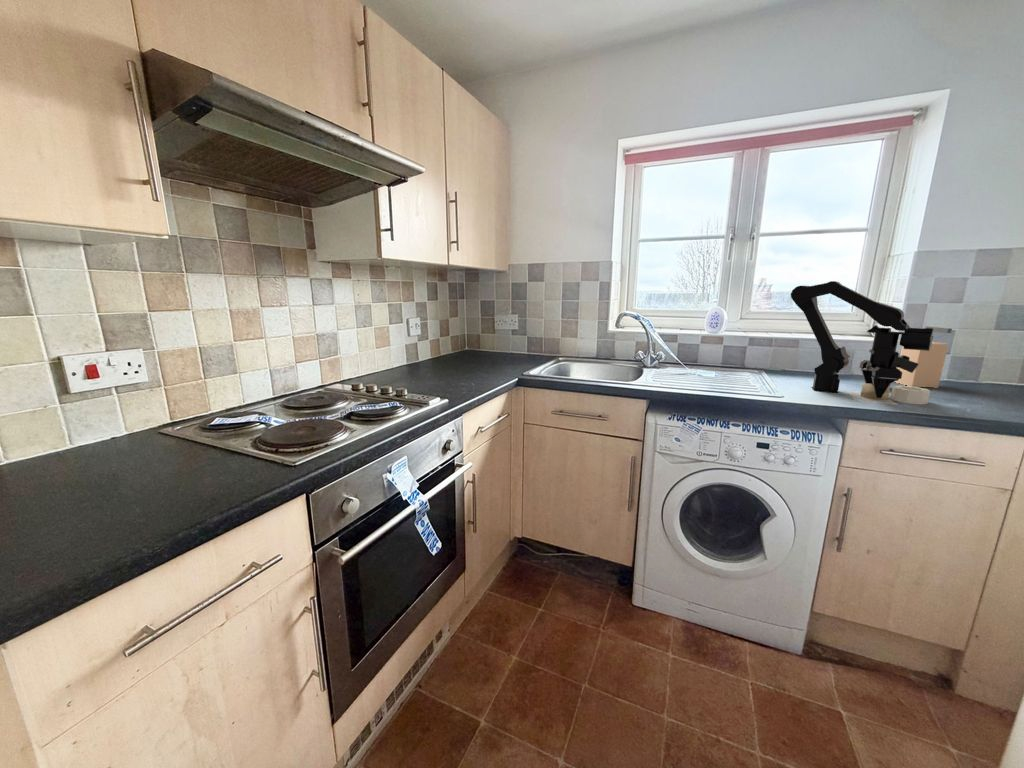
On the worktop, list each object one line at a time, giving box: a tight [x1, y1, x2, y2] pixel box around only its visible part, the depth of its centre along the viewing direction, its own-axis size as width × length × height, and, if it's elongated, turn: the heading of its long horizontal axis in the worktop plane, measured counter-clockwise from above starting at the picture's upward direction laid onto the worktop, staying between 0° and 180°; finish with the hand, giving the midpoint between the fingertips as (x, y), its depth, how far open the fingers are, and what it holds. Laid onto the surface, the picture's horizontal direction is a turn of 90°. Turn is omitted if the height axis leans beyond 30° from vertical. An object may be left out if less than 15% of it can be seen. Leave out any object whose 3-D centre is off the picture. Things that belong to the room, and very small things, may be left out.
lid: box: [860, 382, 891, 400], centre depth 131 cm, size 7×7×6 cm
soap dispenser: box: [893, 325, 953, 389], centre depth 147 cm, size 13×9×22 cm
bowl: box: [889, 384, 931, 405], centre depth 128 cm, size 8×8×4 cm
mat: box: [845, 389, 899, 406], centre depth 133 cm, size 10×16×1 cm, turn 152°
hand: (874, 394), depth 132 cm, fingers open, 9 cm apart
